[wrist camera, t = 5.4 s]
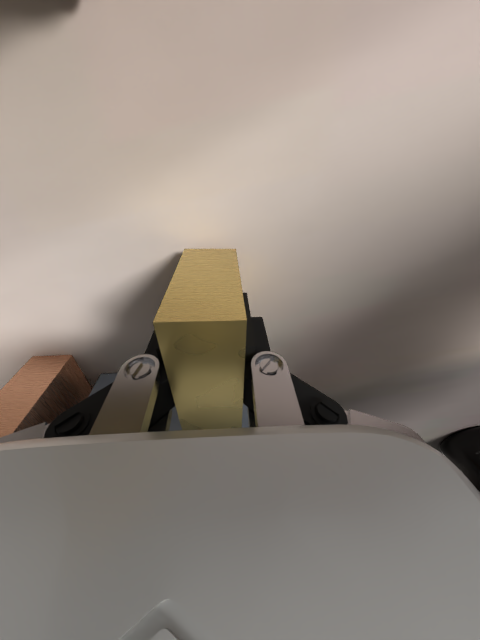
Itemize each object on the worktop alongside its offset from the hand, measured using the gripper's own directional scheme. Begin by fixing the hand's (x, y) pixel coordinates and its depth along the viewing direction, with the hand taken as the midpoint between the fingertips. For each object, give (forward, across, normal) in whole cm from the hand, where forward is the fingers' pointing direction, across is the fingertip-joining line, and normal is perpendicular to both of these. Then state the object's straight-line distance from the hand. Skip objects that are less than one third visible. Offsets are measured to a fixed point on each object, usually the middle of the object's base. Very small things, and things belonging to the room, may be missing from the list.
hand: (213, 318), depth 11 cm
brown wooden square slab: (+2, +11, +7) cm, 13 cm away
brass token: (+1, 0, 0) cm, 1 cm away
